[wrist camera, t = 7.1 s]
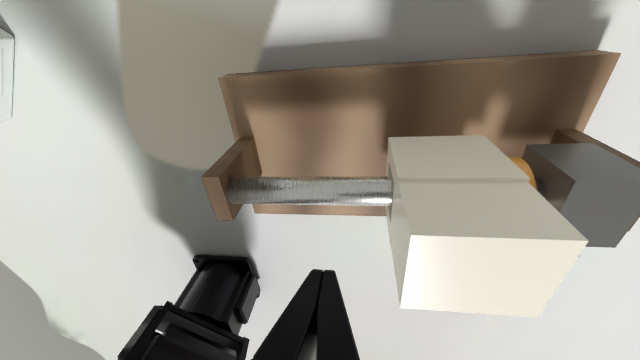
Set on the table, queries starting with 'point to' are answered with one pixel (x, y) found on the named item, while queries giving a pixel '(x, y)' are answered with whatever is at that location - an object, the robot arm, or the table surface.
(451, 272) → the sleeve
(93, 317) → the table surface
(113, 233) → the table surface
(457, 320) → the table surface
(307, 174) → the rod stand
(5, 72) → the small box
